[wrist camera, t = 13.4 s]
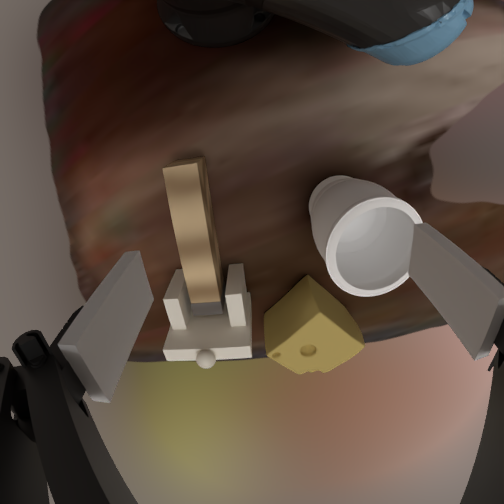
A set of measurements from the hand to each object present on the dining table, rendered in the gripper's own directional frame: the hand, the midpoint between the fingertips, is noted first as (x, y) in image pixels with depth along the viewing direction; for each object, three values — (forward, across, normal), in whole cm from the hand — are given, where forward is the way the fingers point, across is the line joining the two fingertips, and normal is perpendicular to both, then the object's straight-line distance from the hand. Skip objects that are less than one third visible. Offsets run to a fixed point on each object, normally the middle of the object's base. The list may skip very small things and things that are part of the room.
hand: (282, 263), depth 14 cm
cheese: (+27, +5, -23) cm, 36 cm away
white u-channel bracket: (+27, -9, -18) cm, 33 cm away
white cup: (+27, +10, -6) cm, 29 cm away
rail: (+27, -9, -8) cm, 29 cm away
